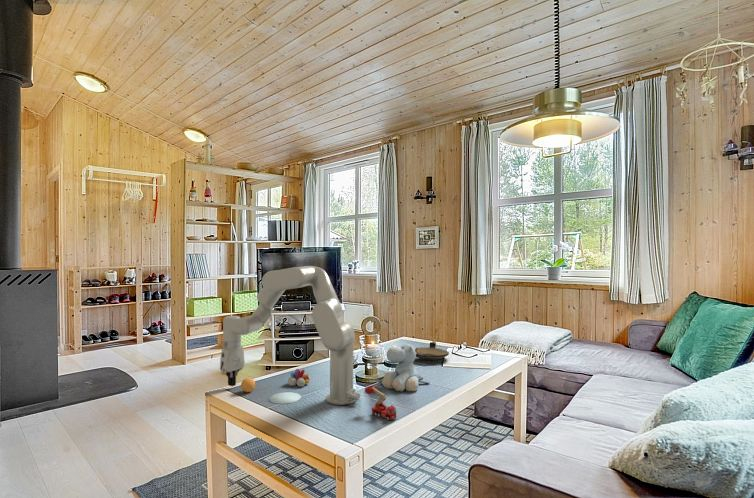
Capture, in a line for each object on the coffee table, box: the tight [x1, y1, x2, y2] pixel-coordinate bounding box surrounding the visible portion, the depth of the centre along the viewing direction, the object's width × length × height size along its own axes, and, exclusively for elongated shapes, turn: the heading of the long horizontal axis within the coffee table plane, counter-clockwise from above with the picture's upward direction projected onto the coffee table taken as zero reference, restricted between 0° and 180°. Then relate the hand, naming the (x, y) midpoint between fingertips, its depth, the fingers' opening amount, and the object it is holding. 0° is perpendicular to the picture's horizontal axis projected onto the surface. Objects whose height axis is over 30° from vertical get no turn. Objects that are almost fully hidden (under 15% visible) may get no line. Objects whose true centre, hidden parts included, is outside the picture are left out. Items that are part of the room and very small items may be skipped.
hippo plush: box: [381, 343, 431, 392], centre depth 189 cm, size 18×23×18 cm
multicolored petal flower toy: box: [287, 368, 311, 388], centre depth 191 cm, size 8×10×7 cm
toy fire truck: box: [364, 385, 397, 421], centre depth 156 cm, size 3×14×10 cm, turn 48°
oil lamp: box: [414, 339, 450, 361], centre depth 238 cm, size 22×30×8 cm
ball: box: [240, 377, 256, 393], centre depth 181 cm, size 6×6×6 cm
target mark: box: [268, 391, 302, 405], centre depth 173 cm, size 13×13×1 cm
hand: (231, 385), depth 185 cm, fingers closed
